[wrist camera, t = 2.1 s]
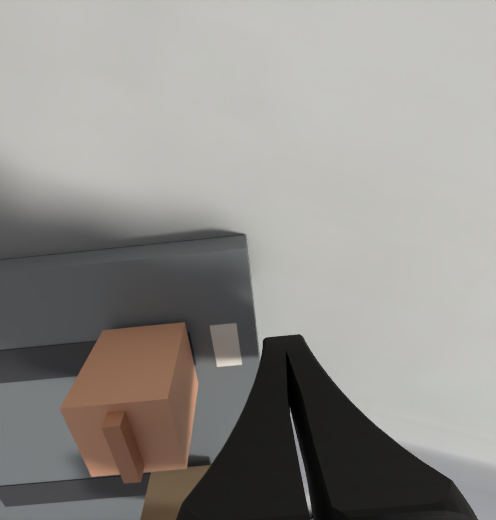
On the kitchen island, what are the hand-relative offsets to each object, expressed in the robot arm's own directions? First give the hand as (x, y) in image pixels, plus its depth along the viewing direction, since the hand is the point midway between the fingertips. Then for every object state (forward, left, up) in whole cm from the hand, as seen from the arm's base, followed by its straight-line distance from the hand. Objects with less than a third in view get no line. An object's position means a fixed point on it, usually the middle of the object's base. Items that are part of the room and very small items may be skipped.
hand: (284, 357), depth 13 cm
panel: (-4, +10, -2) cm, 11 cm away
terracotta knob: (0, +5, -1) cm, 5 cm away
